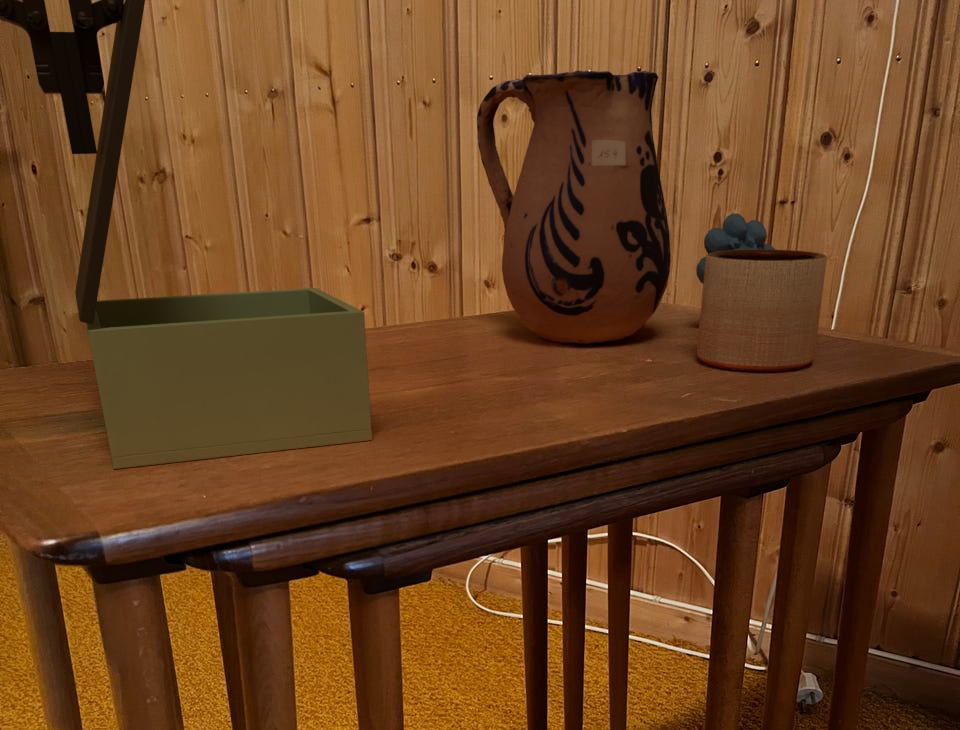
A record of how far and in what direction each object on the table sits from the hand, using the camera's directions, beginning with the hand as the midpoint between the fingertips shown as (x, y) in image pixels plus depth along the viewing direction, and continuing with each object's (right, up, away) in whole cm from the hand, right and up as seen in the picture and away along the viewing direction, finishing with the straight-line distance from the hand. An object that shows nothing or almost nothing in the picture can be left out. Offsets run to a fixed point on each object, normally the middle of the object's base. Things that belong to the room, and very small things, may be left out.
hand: (84, 153), depth 62 cm
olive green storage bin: (+7, -15, +11) cm, 20 cm away
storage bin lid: (+1, 0, +1) cm, 2 cm away
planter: (+51, -5, +31) cm, 60 cm away
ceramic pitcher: (+35, +2, +45) cm, 57 cm away
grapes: (+55, +4, +48) cm, 73 cm away
